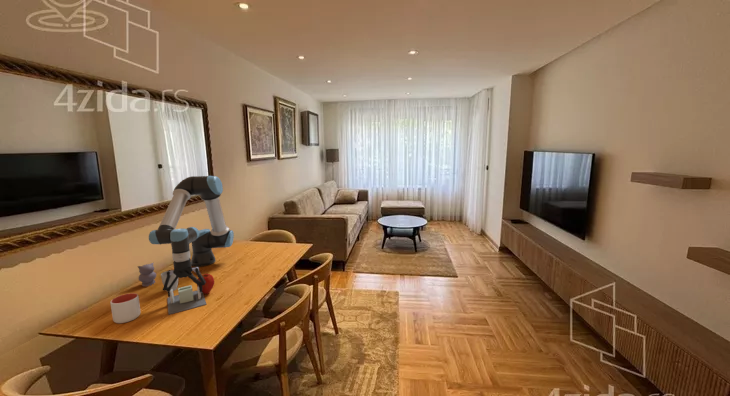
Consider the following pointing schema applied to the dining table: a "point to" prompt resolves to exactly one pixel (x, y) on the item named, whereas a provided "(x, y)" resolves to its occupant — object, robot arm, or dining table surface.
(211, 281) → the apple
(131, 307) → the cup
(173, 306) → the grey piece
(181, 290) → the pale green block
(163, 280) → the cup
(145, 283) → the cat figurine
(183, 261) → the robot arm
